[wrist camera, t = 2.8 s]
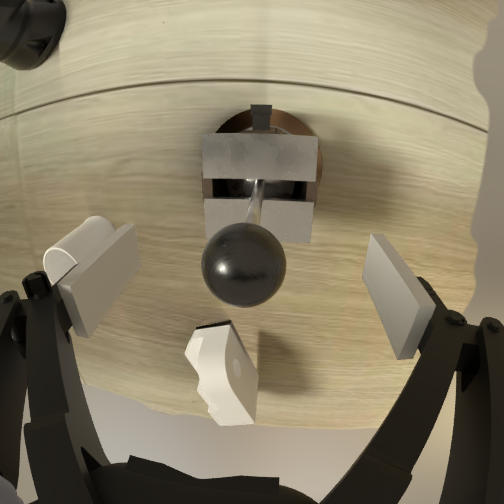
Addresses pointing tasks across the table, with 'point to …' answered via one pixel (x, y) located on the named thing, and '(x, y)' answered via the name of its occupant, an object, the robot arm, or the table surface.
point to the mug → (76, 246)
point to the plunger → (247, 249)
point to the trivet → (277, 120)
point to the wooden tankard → (260, 176)
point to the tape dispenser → (224, 373)
